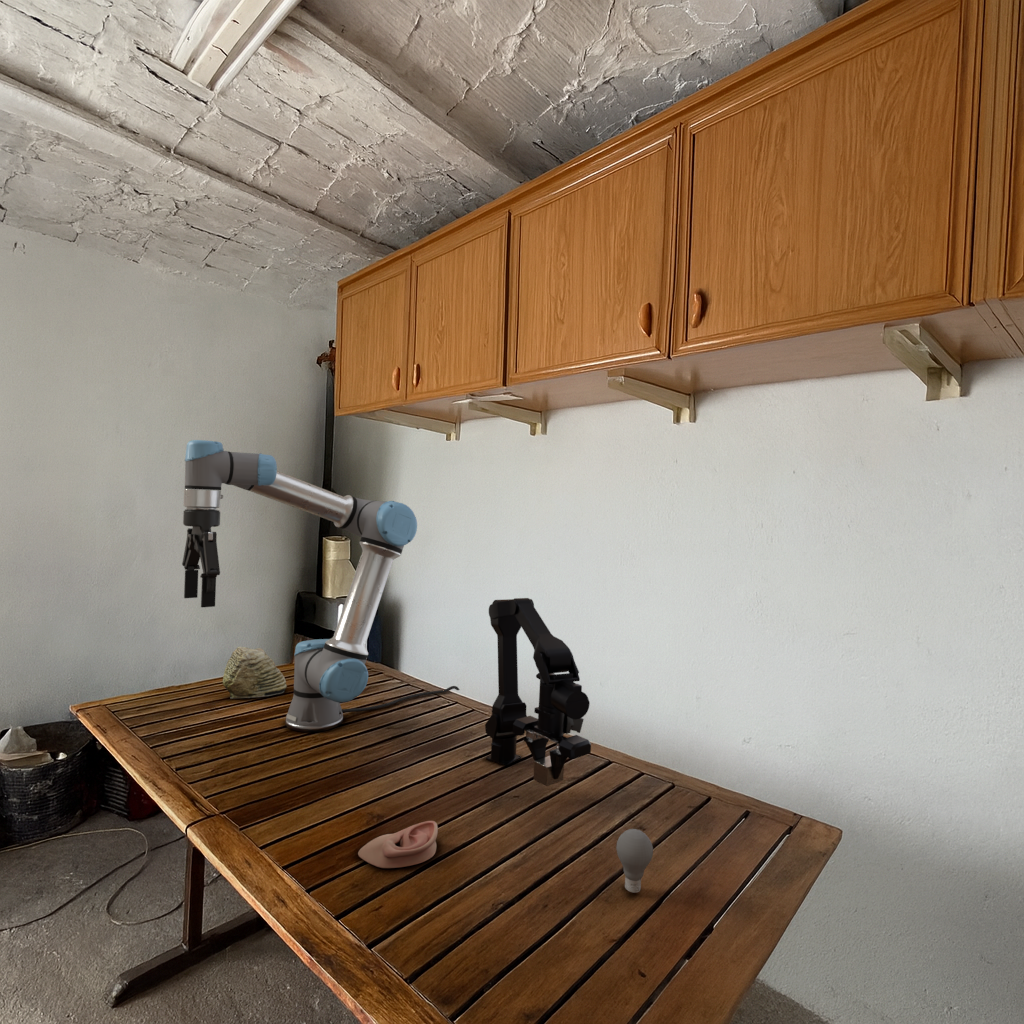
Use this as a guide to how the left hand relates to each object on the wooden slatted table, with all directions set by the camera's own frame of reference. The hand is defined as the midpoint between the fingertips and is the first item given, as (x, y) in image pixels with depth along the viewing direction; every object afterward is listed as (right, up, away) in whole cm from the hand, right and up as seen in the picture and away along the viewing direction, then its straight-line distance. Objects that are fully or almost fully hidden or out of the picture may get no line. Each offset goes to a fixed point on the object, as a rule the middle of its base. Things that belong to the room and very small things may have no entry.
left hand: (199, 602), depth 144 cm
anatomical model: (+51, -41, -30) cm, 72 cm away
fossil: (-9, -37, +54) cm, 66 cm away
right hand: (+79, -37, -7) cm, 87 cm away
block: (+79, -38, -7) cm, 88 cm away
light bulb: (+91, -43, -38) cm, 108 cm away
